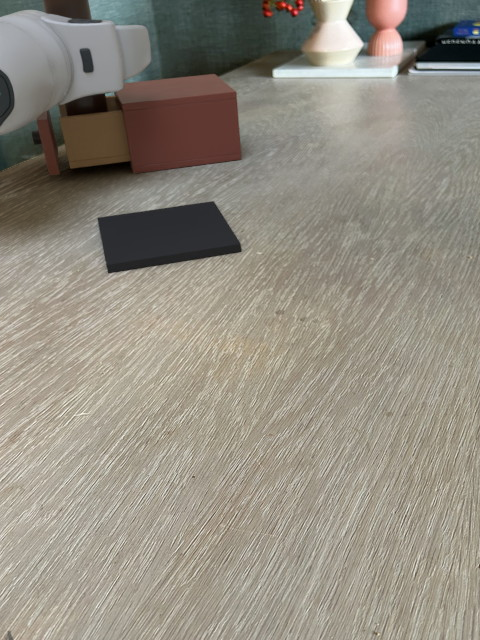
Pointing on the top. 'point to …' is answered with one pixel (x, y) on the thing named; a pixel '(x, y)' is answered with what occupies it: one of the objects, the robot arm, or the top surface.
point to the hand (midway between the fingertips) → (76, 40)
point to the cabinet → (180, 122)
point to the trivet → (165, 236)
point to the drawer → (85, 137)
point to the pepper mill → (75, 5)
